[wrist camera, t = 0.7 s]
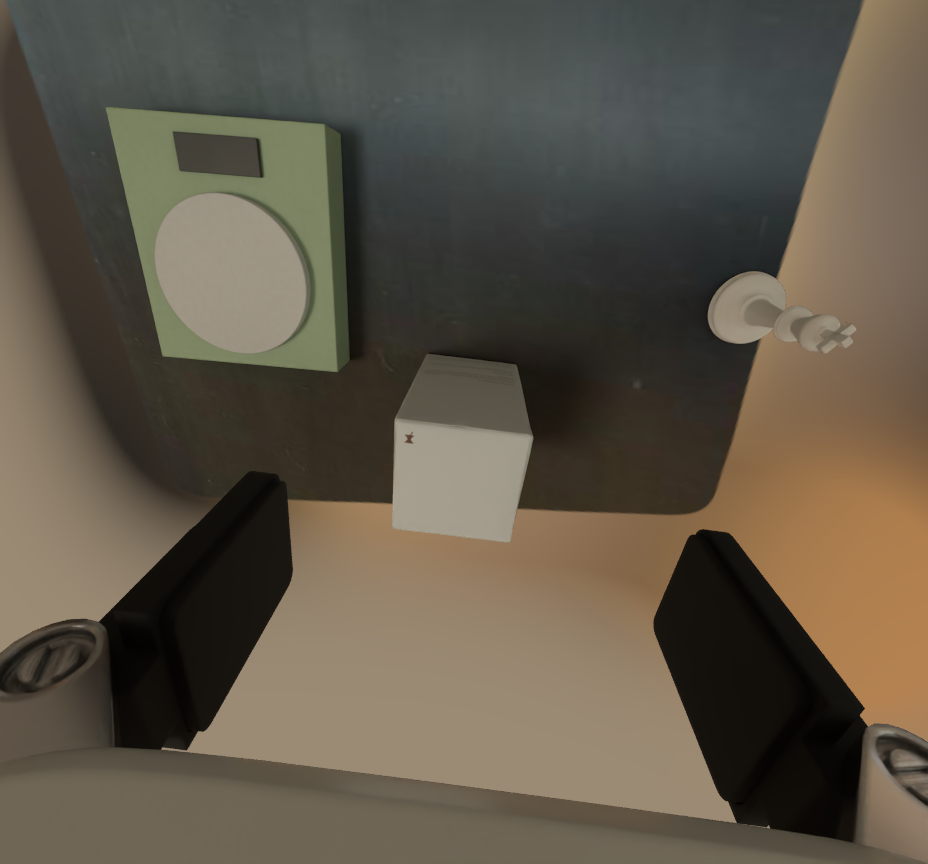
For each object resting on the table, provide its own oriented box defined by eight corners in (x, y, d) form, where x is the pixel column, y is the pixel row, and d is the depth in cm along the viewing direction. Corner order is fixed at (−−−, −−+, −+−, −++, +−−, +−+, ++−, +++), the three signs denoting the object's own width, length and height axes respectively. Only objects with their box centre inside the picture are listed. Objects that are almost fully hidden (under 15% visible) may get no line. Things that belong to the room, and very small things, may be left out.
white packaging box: (418, 436, 37) (385, 530, 25) (426, 350, 34) (391, 415, 22) (505, 447, 37) (511, 548, 25) (520, 363, 34) (535, 434, 22)
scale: (141, 117, 28) (93, 102, 25) (341, 133, 28) (319, 120, 24) (187, 346, 35) (154, 359, 31) (350, 360, 34) (334, 375, 31)
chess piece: (796, 304, 31) (922, 338, 22) (734, 356, 32) (827, 406, 23) (754, 255, 29) (869, 268, 20) (692, 311, 31) (774, 346, 22)
